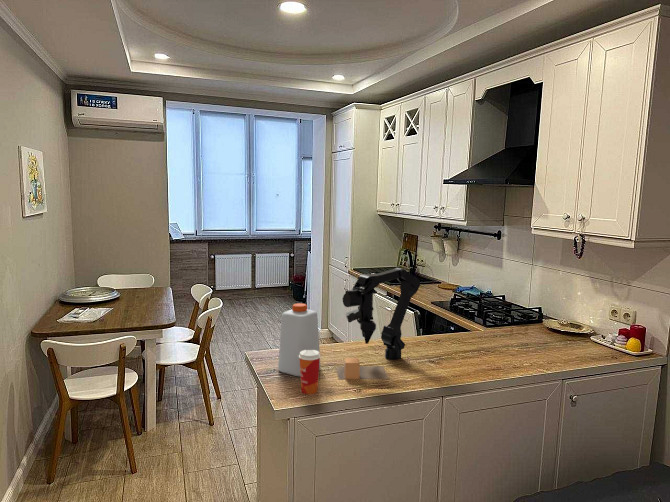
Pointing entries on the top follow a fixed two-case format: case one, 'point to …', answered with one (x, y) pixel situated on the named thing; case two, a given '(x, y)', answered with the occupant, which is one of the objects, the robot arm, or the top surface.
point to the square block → (351, 368)
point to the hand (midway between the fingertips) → (365, 340)
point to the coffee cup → (309, 371)
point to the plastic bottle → (297, 337)
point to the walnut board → (365, 372)
